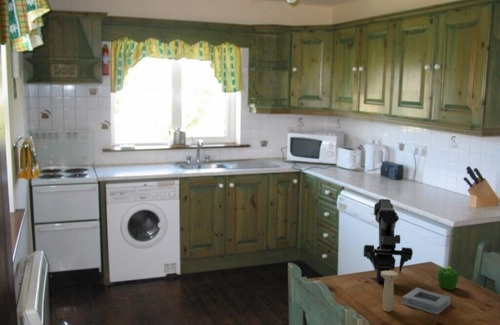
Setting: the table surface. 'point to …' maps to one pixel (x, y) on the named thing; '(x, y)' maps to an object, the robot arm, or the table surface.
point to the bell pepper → (448, 278)
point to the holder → (426, 300)
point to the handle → (388, 289)
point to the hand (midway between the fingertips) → (387, 271)
